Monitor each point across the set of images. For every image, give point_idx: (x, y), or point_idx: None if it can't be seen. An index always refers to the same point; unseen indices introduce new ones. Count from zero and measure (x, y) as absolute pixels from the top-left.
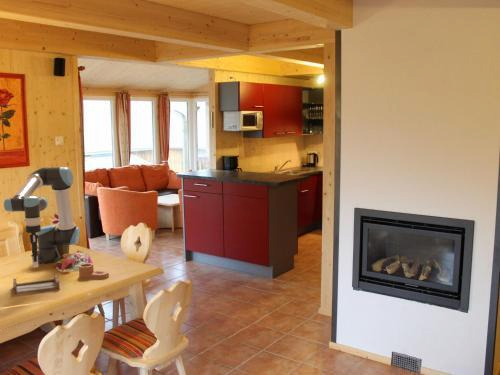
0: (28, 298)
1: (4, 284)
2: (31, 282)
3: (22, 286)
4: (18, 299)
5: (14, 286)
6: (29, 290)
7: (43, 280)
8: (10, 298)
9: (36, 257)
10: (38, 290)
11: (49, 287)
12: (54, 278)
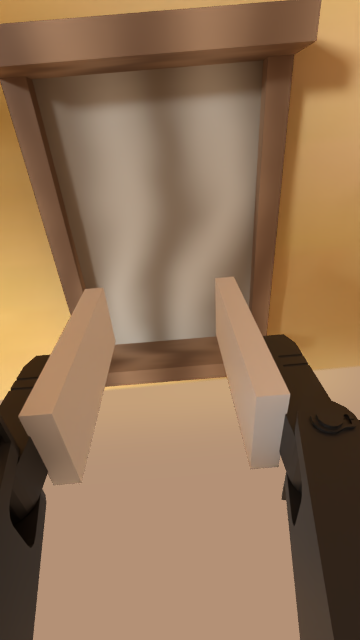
0: (351, 269)
1: None
2: (74, 275)
3: (115, 317)
4: (333, 317)
5: None
6: (258, 276)
7: (37, 188)
8: None
9: (321, 390)
10: (276, 218)
11: (206, 131)
12: (11, 75)
